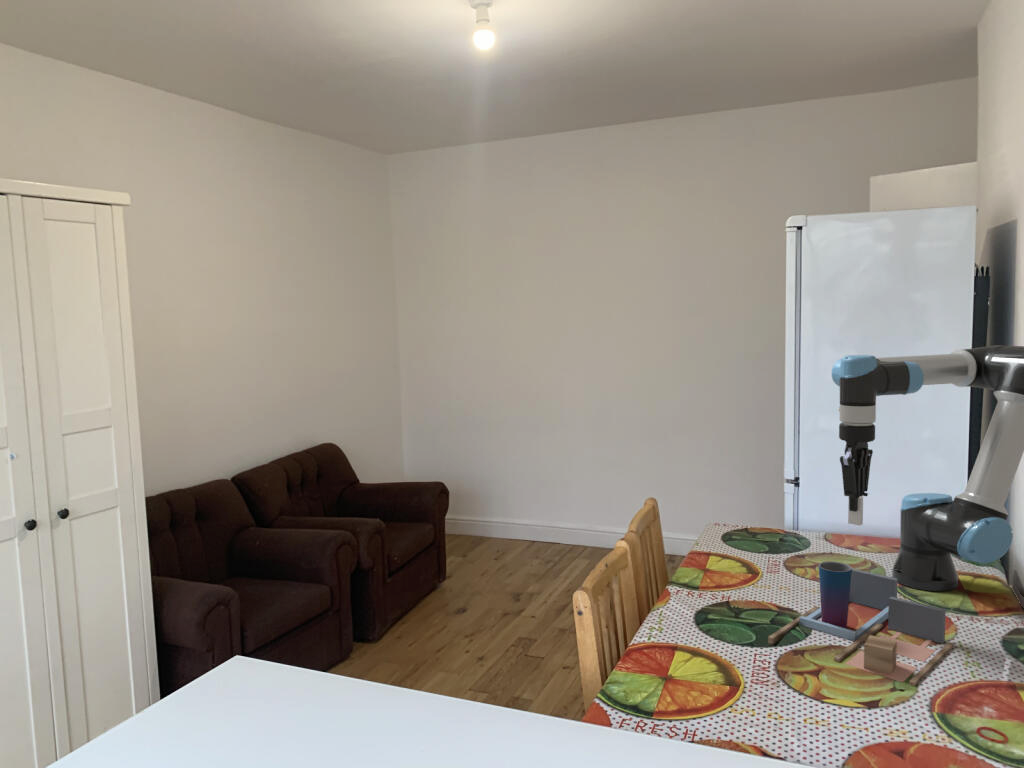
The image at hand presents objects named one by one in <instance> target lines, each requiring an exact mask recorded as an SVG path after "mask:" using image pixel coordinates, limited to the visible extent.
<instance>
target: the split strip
mask: <svg viewBox="0 0 1024 768" xmlns="http://www.w3.org/2000/svg"><path fill="white" fill-rule="evenodd" d="M946 610H947V609H944V608H940V607H936V606H932V605H927V604H925V603H924V604H923V603H920V602H915V601H912V600H907V599H904V598H898V597H897V598H895V597H890V598H889V613H888V619H887V620H888V621H887V623H888V624H887V625H888V626H887V627H888V628H887V630H891V631H894V632H895V633H894V634H892V635H891V637H890V636H886V635H882V634H880V635H878V637H881V638H886V639H890V640H895V641H897V654H896V655H899V656H902V657H906V658H910V659H911V660H912V659H913V660H916V661H919V662H924V663H925V662H926V660H927V659H928V658H929V657H930V656H932V655H933V654H934V652H936V650H935V649H934V648H933V649H932V648H929V647H928V646H929V644H931V643H932V642H935V643H939V644H944V643H945V642H946V638H945V637H946ZM902 634H904V635H905V634H906V635H908V636H913V637H917V638H919V639H920V638H921V639H923V640H925V641H924V642H922V643H921V644H920V645H918V644H915V643H912V642H911V643H910V642H907V641H903V640H901V639H897V638H899V636H900V635H902ZM844 665H847V666H851V667H854V668H856V669H859V670H863V671H865V672H868V673H872V674H876V675H878V676H880V677H884V678H888V679H891V680H894V681H897V682H900V683H904V682H905V681H906V680H907V679H908V678H909V677H910V676H911V675H912V674H913V673H914V672H915V671H916V670H917V669H918V666H917V667H916V666H913V665H910V664H907V663H903V662H900V661H897V660H896V666H895V669H894V671H893V673H892V675H890V674H885V673H881V672H877V671H873V670H869V669H864V650H860V651H858V653H856V654H855V655H854V656H853V657H851V658H850V659H849V660H848V661H847V662H845V663H844Z"/></svg>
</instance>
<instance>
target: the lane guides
mask: <svg viewBox="0 0 1024 768" xmlns="http://www.w3.org/2000/svg"><path fill="white" fill-rule="evenodd" d="M820 607H821V606H820ZM820 607H819V606H814V607H812V608H810V609H809V610H807V611H806V612H805V613H802V615H800V616H798V617H797V618H795V619H793V620H792V621H790V622H789V623H787V624H786V625H784V626H782V627H781V628H780V629H778V630H776V631H775V632H773V633H772V634H770V635H768V637H767V644H769V645H775V643H778V642H779V641H780V640H782V639H783V638H784V637H785V636H786V635H787V634H788V632H790V630H792V629H793V628H795V627H797V626H798V625H799V617H801V616H803V617H807V616H808V615H810V614H811V613H813V612H814V611H816V610H817V609H819V608H820ZM883 627H884V626H883V623H881V624H880V623H877V624H876V625H875V626H874V627H872V628H871V629H870V630H868V631H867V632H866V633H865V634H863V635H862V636H861V637H860V638H858V639H857V640H856V641H853V642H852V643H851V644H849V645H848V646H847V647H845V648H844V649H843V650H842V651H841V652H839V653H838V654H836V655H835V656H834V657H833V661H834V662H837V663H839V662H841V661H843V659H845V658H846V657H847V656H849V654H851V653H852V652H854V650H856V649H857V648H859V647H860V646H861V645H862V644H863V643H865V642H866V641H867V639H868V637H869V635H872V636H874V635H875V633H878V631H879V630H881V629H883ZM954 646H955V643H953V642H950V641H948V642H947V643H946V644H945V645H944V646H943V647H942V648H941V649H940V650H939V651H938V652H937V653H935V655H933V657H932V658H931V659H930V660H929V661H927V662H926V664H925V665H924V666H923V667H922V668H920V670H919V671H917V673H915V675H913V676H912V678H911V679H910V680H909V681H908V685H910V686H914V687H915V686H916V685H917V684H919V683H920V681H921V680H922V679H924V677H926V675H928V673H929V672H930V671H932V669H933V668H934V667H935V666H936V665H937V664H938V663H939V662H940V661H941V660H942V659H943V658H944V657H945V656H946V655H947V654H948V653H949V652H950V651H951V650H952V649H953V648H954Z"/></svg>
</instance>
